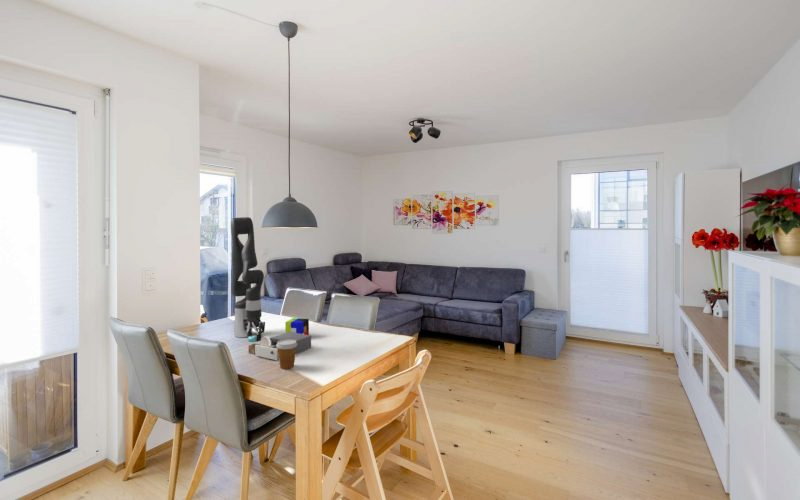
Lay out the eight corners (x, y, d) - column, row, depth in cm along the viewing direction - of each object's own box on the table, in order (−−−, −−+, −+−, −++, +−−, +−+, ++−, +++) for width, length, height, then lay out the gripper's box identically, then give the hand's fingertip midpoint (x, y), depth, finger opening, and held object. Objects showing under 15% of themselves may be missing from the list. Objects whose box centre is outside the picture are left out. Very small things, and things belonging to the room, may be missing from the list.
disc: (245, 340, 206) (245, 337, 206) (254, 337, 212) (254, 334, 212) (253, 342, 204) (253, 338, 203) (262, 339, 209) (262, 335, 209)
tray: (254, 355, 201) (254, 345, 201) (275, 347, 213) (275, 338, 213) (275, 360, 194) (275, 350, 193) (296, 352, 206) (296, 342, 206)
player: (270, 350, 211) (269, 337, 210) (289, 343, 223) (289, 331, 222) (292, 355, 203) (292, 342, 202) (311, 348, 215) (311, 335, 215)
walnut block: (248, 353, 207) (248, 345, 207) (254, 350, 210) (254, 343, 210) (253, 354, 205) (253, 346, 205) (260, 352, 209) (259, 344, 208)
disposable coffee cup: (279, 363, 192) (278, 339, 191) (299, 363, 192) (298, 338, 192) (274, 370, 182) (274, 345, 181) (295, 370, 183) (295, 344, 182)
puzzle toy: (301, 339, 231) (301, 322, 231) (285, 338, 233) (285, 322, 233) (308, 335, 241) (308, 318, 240) (293, 334, 243) (293, 318, 242)
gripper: (238, 308, 206) (238, 339, 208) (257, 311, 200) (258, 344, 201) (249, 305, 213) (250, 336, 214) (269, 308, 206) (269, 340, 208)
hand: (254, 339), depth 208 cm, fingers closed on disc, 6 cm apart
